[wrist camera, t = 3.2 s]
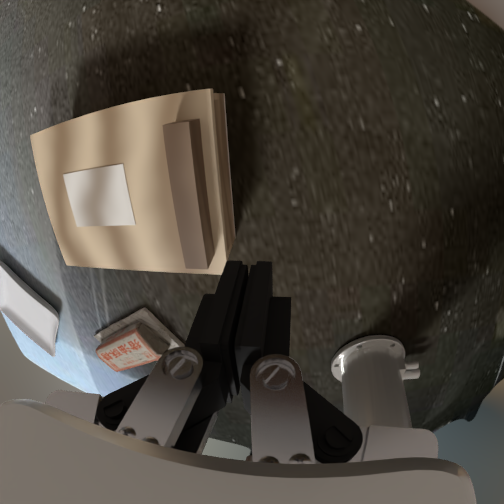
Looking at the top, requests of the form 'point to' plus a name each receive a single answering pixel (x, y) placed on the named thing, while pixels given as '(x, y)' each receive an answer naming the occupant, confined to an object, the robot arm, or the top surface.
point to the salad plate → (28, 310)
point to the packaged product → (135, 341)
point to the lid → (137, 186)
